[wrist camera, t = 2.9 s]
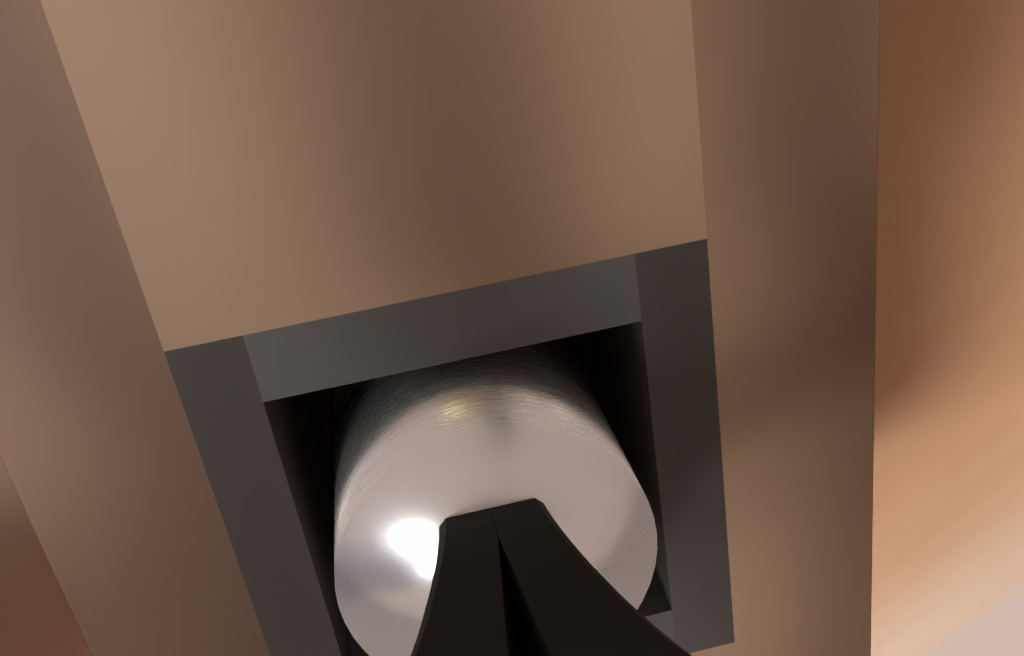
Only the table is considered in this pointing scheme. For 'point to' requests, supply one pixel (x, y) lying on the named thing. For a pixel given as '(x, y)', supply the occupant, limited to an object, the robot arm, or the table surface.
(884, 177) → the table surface
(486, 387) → the steel peg
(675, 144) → the peg board
